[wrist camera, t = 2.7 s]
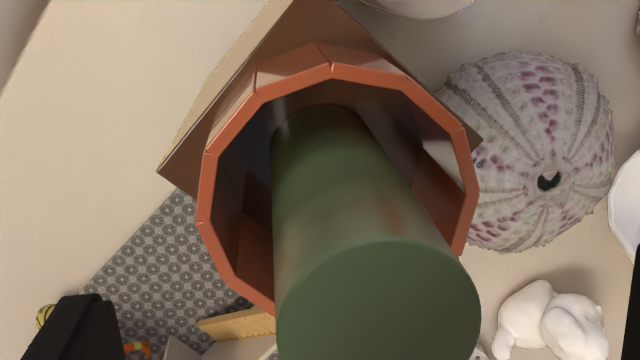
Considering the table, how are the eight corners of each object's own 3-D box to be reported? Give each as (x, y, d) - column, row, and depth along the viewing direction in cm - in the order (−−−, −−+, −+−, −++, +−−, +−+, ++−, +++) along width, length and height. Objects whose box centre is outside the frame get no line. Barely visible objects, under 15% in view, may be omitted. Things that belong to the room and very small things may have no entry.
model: (168, 337, 41) (148, 413, 34) (266, 241, 39) (266, 301, 32) (202, 360, 42) (189, 439, 35) (298, 268, 40) (305, 331, 33)
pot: (206, 78, 35) (122, 230, 14) (287, -23, 34) (325, -19, 13) (302, 154, 38) (351, 380, 17) (382, 63, 36) (547, 186, 15)
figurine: (584, 293, 44) (650, 359, 36) (506, 355, 45) (554, 430, 38) (546, 251, 42) (607, 310, 34) (465, 316, 43) (508, 387, 36)
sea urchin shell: (458, 262, 42) (501, 326, 34) (361, 119, 37) (386, 156, 30) (616, 163, 40) (697, 207, 32) (534, 1, 35) (607, 7, 28)
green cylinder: (248, 163, 19) (232, 350, 9) (317, 81, 18) (375, 196, 9) (328, 223, 20) (384, 446, 10) (397, 148, 19) (524, 315, 10)
